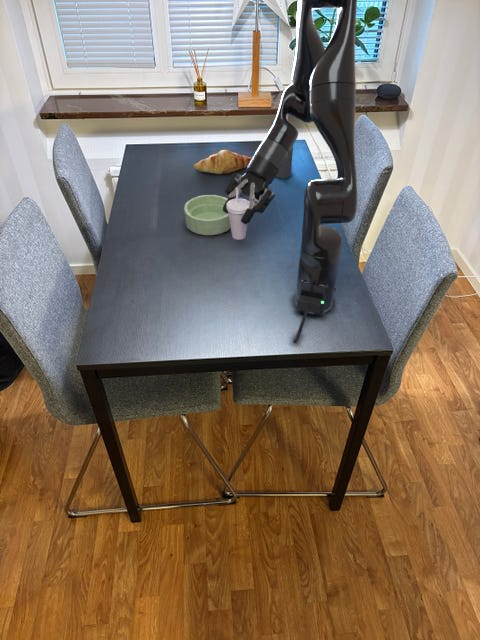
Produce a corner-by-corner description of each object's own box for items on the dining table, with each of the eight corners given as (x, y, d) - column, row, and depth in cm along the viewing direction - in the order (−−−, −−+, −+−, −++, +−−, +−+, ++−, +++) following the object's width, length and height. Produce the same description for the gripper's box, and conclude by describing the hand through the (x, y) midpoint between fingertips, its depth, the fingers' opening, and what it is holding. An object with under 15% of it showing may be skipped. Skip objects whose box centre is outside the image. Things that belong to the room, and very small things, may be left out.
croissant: (196, 184, 178) (196, 170, 171) (190, 160, 181) (191, 146, 174) (254, 176, 182) (257, 162, 174) (248, 153, 185) (250, 138, 177)
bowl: (225, 240, 147) (224, 224, 144) (178, 232, 150) (176, 215, 147) (239, 214, 158) (239, 199, 154) (195, 207, 161) (194, 191, 157)
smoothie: (237, 226, 141) (237, 180, 132) (255, 234, 138) (256, 188, 129) (222, 236, 137) (220, 189, 128) (240, 245, 134) (240, 197, 125)
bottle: (293, 176, 176) (297, 134, 165) (278, 179, 174) (281, 137, 164) (286, 169, 180) (289, 127, 169) (271, 172, 178) (273, 130, 168)
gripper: (240, 145, 131) (208, 202, 133) (281, 163, 124) (245, 223, 126) (255, 158, 137) (223, 212, 140) (294, 177, 130) (260, 233, 132)
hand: (234, 217), depth 133 cm, fingers closed on smoothie, 6 cm apart
